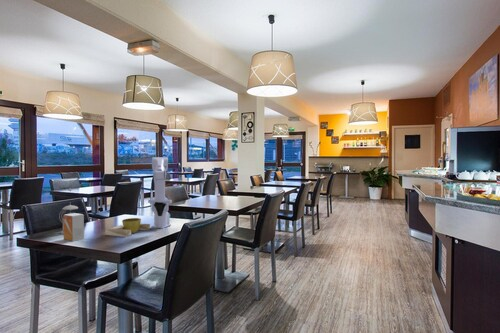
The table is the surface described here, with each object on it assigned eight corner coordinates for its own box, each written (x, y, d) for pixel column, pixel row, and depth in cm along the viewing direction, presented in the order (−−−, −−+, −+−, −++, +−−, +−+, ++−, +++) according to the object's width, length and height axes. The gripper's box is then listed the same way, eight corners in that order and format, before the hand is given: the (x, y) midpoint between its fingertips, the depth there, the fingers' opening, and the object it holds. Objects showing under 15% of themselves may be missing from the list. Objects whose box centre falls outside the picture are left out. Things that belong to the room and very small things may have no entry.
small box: (63, 239, 163) (62, 214, 162) (75, 236, 168) (74, 212, 168) (72, 241, 159) (72, 215, 158) (84, 238, 164) (84, 214, 164)
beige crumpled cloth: (130, 227, 191) (130, 222, 191) (150, 229, 187) (150, 224, 187) (105, 234, 172) (105, 229, 172) (126, 236, 168) (126, 231, 168)
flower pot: (121, 234, 173) (121, 221, 172) (123, 230, 182) (123, 218, 182) (140, 233, 175) (140, 220, 175) (141, 229, 185) (141, 217, 185)
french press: (71, 234, 174) (70, 189, 174) (53, 233, 177) (53, 189, 176) (84, 230, 184) (83, 187, 184) (67, 229, 186) (66, 187, 186)
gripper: (144, 192, 176) (144, 216, 176) (166, 193, 171) (167, 217, 172) (152, 191, 183) (152, 214, 183) (174, 191, 178) (174, 215, 178)
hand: (160, 215), depth 178 cm, fingers closed
